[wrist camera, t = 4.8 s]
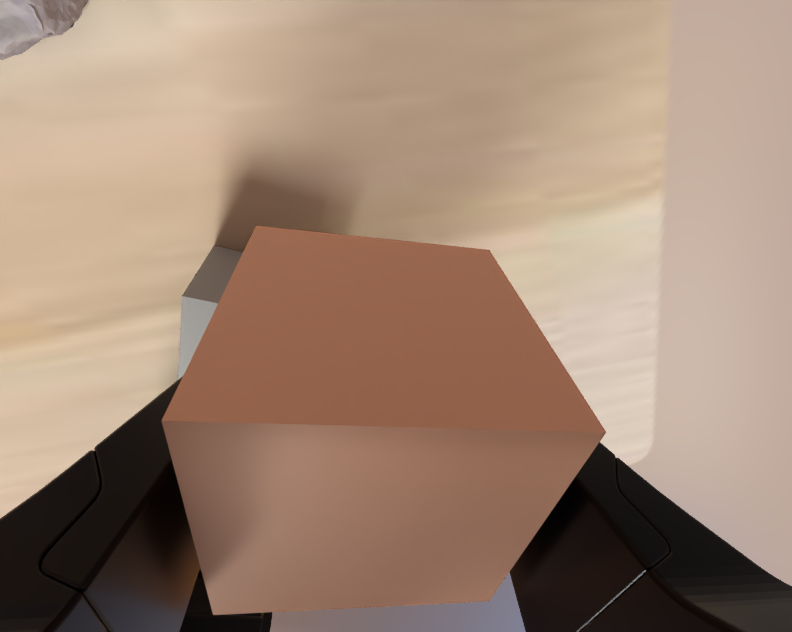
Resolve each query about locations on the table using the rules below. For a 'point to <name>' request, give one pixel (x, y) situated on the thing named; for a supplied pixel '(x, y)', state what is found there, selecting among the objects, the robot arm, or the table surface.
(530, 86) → the table surface
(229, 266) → the slate grey cube
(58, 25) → the stone block
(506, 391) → the terracotta cube
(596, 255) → the table surface
